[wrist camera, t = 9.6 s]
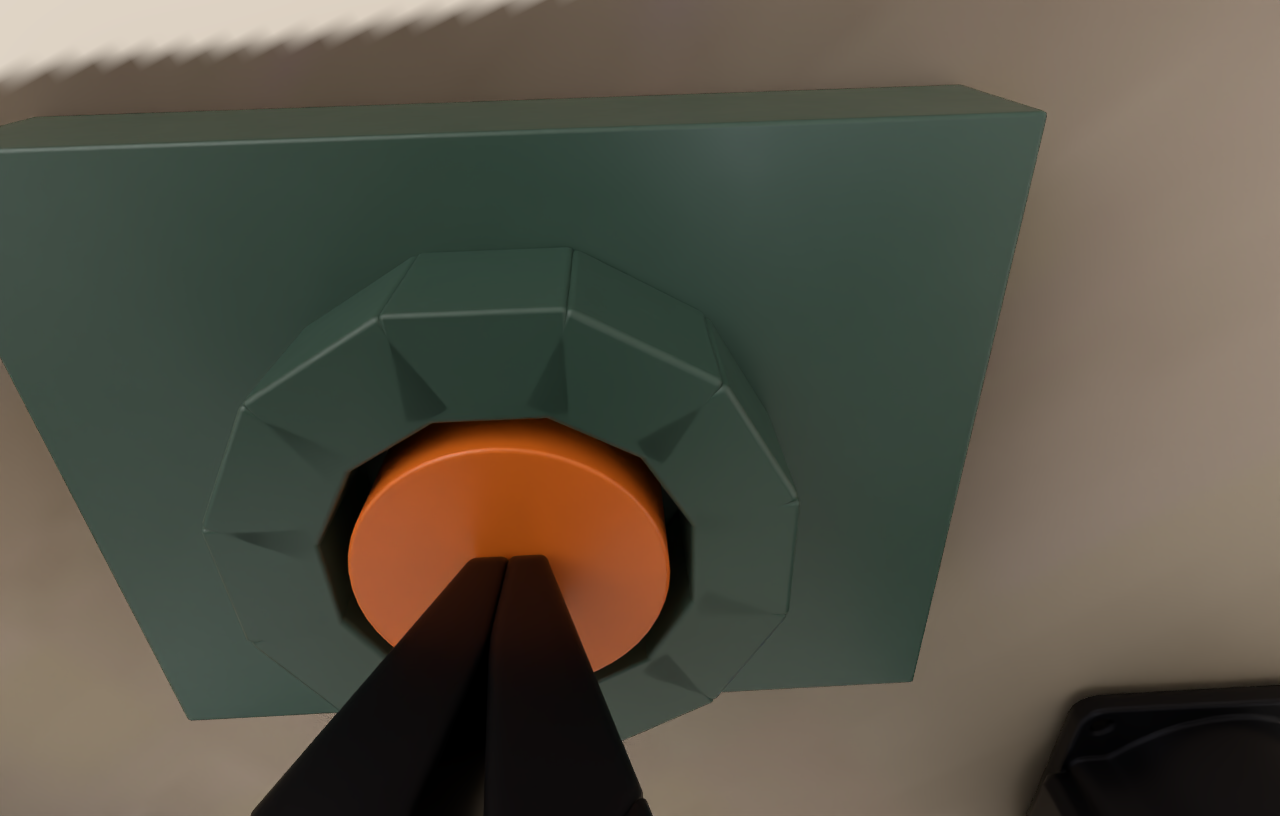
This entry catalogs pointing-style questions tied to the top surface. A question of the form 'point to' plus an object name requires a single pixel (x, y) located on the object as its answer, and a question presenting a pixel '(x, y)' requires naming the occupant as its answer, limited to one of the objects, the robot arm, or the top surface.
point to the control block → (518, 356)
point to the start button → (514, 526)
